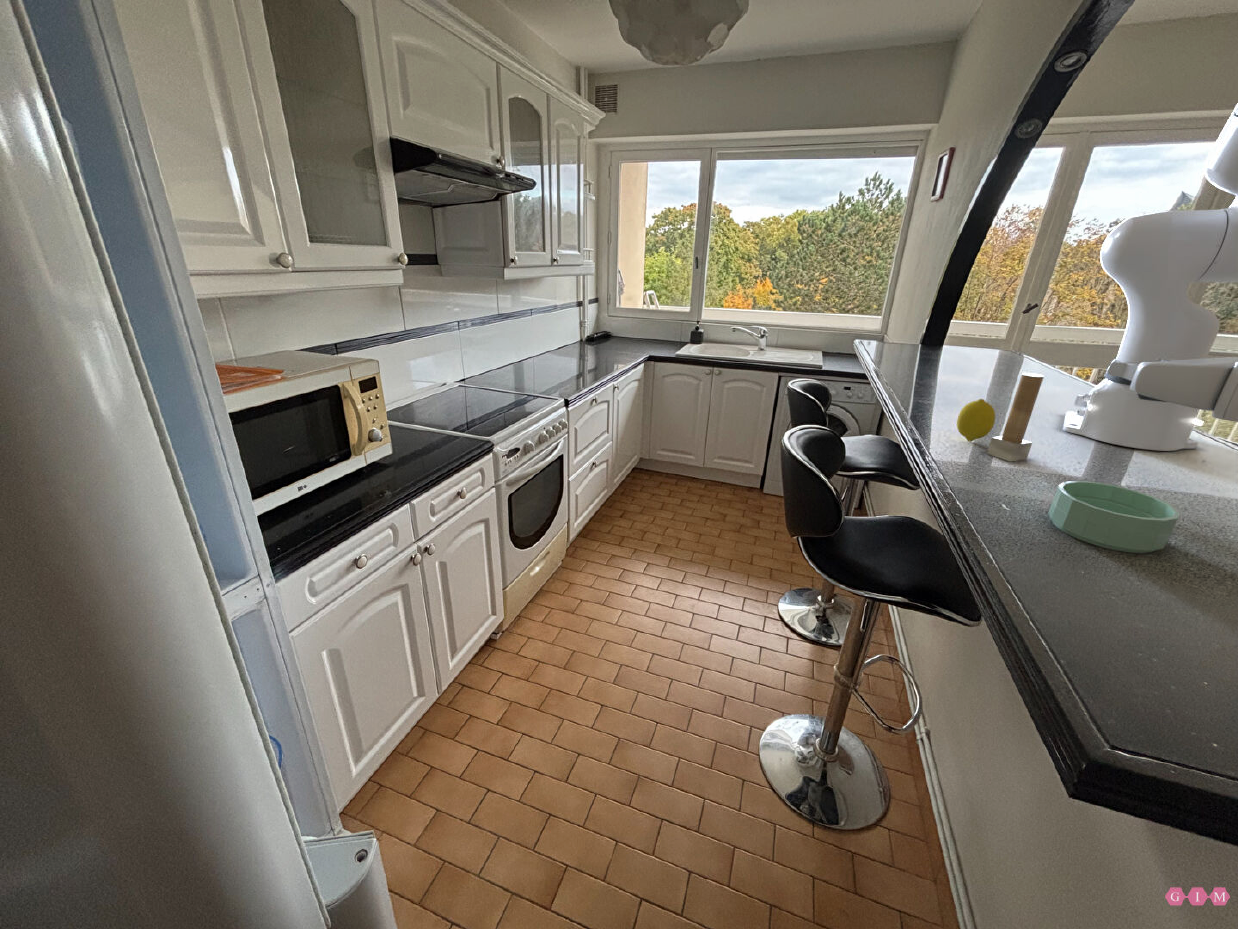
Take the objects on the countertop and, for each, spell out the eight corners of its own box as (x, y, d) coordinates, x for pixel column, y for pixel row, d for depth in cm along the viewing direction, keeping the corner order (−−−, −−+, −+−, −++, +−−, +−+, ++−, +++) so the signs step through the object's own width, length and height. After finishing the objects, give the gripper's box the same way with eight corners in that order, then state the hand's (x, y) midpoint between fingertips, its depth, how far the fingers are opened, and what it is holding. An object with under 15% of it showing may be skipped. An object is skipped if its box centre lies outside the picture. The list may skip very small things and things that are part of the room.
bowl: (1040, 505, 68) (1051, 474, 67) (1145, 525, 64) (1160, 492, 62) (1056, 539, 60) (1069, 505, 58) (1178, 565, 55) (1197, 529, 53)
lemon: (993, 447, 90) (1006, 404, 87) (959, 445, 91) (971, 401, 88) (979, 437, 95) (991, 396, 92) (947, 435, 96) (958, 394, 93)
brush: (1003, 451, 88) (1028, 371, 83) (1026, 459, 85) (1055, 376, 80) (986, 453, 87) (1011, 372, 82) (1010, 461, 84) (1037, 378, 78)
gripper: (1348, 356, 58) (1190, 340, 71) (1249, 363, 52) (1095, 344, 64) (1319, 409, 61) (1171, 385, 73) (1221, 422, 54) (1077, 393, 67)
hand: (1134, 366), depth 69 cm, fingers open, 8 cm apart
